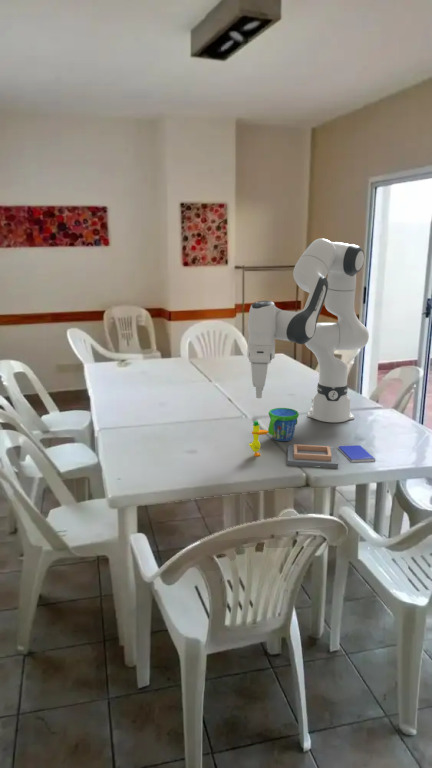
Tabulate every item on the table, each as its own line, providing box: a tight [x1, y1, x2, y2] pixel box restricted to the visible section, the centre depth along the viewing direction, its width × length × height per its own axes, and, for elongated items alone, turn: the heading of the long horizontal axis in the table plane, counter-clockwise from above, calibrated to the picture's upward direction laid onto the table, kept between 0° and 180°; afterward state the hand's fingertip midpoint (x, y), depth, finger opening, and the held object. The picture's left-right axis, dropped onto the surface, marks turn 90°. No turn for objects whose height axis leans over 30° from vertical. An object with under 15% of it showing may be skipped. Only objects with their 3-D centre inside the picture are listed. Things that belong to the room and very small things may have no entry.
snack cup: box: [267, 407, 299, 442], centre depth 205 cm, size 16×10×10 cm
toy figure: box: [248, 420, 269, 457], centre depth 188 cm, size 7×4×12 cm, turn 97°
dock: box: [286, 443, 339, 469], centre depth 187 cm, size 14×16×3 cm
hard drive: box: [337, 444, 376, 463], centre depth 191 cm, size 2×8×12 cm
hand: (259, 393), depth 184 cm, fingers open, 8 cm apart
